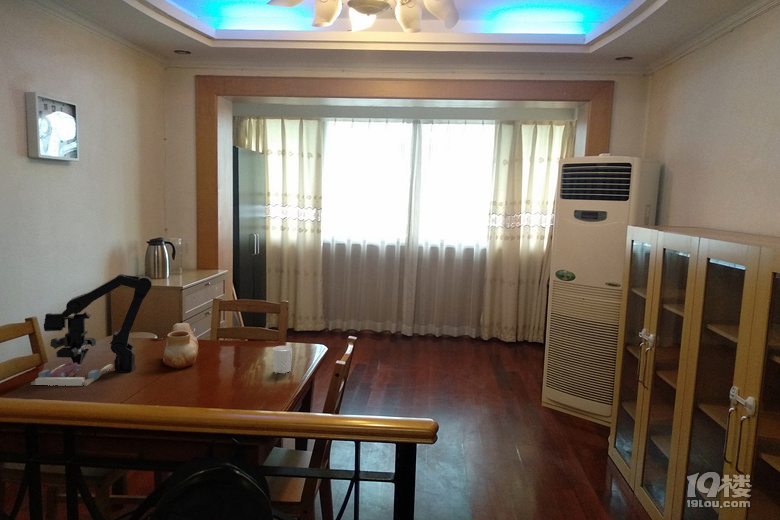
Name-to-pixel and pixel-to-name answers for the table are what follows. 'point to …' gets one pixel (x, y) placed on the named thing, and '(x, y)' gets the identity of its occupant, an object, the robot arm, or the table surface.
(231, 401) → the table surface
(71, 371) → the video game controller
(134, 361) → the robot arm
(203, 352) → the table surface
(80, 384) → the guide channel
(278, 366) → the white cup
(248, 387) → the table surface
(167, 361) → the ceramic vessel
